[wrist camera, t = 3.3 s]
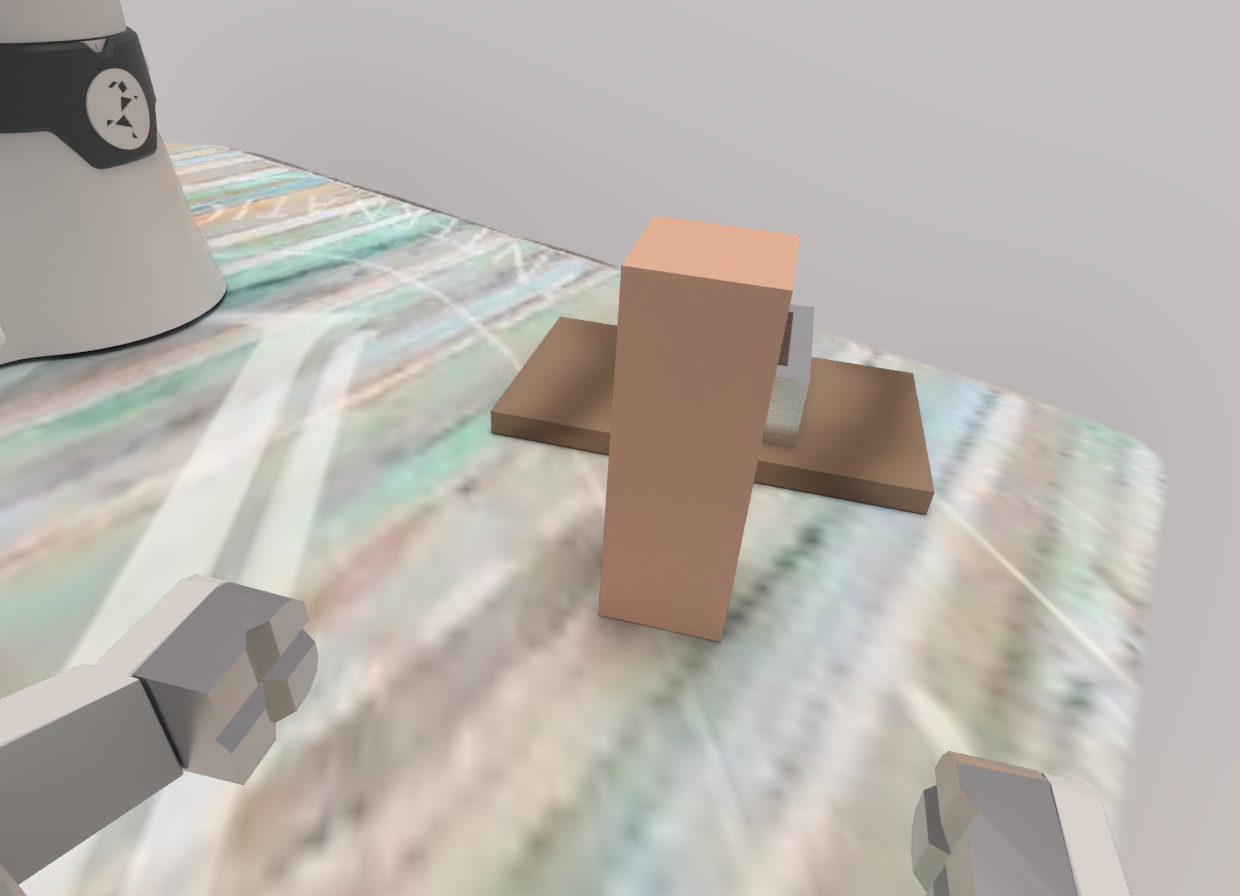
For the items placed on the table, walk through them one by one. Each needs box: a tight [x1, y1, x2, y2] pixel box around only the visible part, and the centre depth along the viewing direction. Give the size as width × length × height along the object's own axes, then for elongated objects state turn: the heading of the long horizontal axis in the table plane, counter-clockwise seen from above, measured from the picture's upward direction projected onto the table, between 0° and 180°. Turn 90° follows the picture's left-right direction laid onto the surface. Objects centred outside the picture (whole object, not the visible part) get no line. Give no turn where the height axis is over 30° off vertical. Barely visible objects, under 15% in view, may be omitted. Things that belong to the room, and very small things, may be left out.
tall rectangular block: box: [598, 216, 799, 642], centre depth 25 cm, size 4×4×13 cm
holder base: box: [491, 317, 934, 514], centre depth 39 cm, size 20×11×1 cm, turn 77°
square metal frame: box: [762, 304, 814, 448], centre depth 37 cm, size 8×8×4 cm
